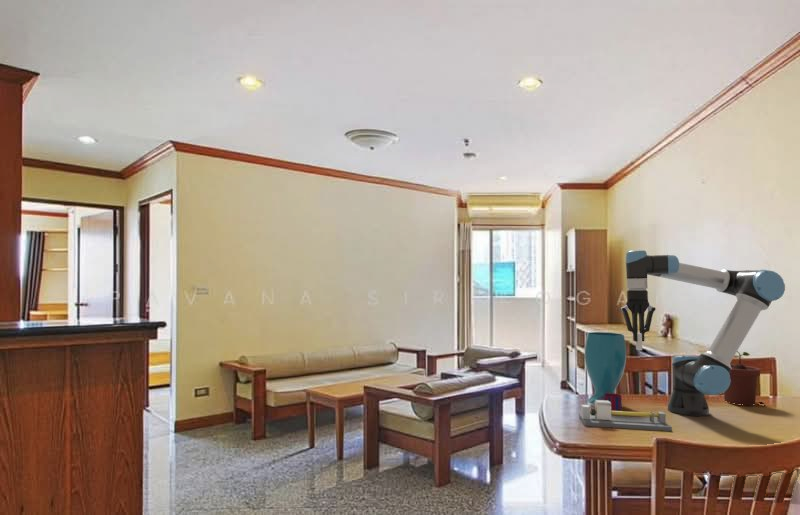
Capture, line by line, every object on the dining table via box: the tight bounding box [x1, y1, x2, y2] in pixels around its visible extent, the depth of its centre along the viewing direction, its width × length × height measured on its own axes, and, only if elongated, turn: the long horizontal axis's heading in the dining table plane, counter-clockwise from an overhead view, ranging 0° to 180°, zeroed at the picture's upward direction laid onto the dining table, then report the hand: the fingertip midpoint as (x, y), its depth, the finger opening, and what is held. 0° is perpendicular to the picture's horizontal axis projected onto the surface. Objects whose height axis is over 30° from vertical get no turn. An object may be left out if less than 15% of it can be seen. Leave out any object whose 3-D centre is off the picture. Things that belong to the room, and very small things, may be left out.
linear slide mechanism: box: [578, 404, 673, 432], centre depth 203 cm, size 30×12×6 cm, turn 81°
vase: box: [584, 331, 627, 406], centre depth 240 cm, size 17×17×30 cm
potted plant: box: [723, 350, 765, 405], centre depth 246 cm, size 18×22×25 cm
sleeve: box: [594, 400, 612, 420], centre depth 204 cm, size 5×5×6 cm
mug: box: [600, 393, 622, 411], centre depth 222 cm, size 7×10×7 cm
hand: (639, 349), depth 213 cm, fingers closed
